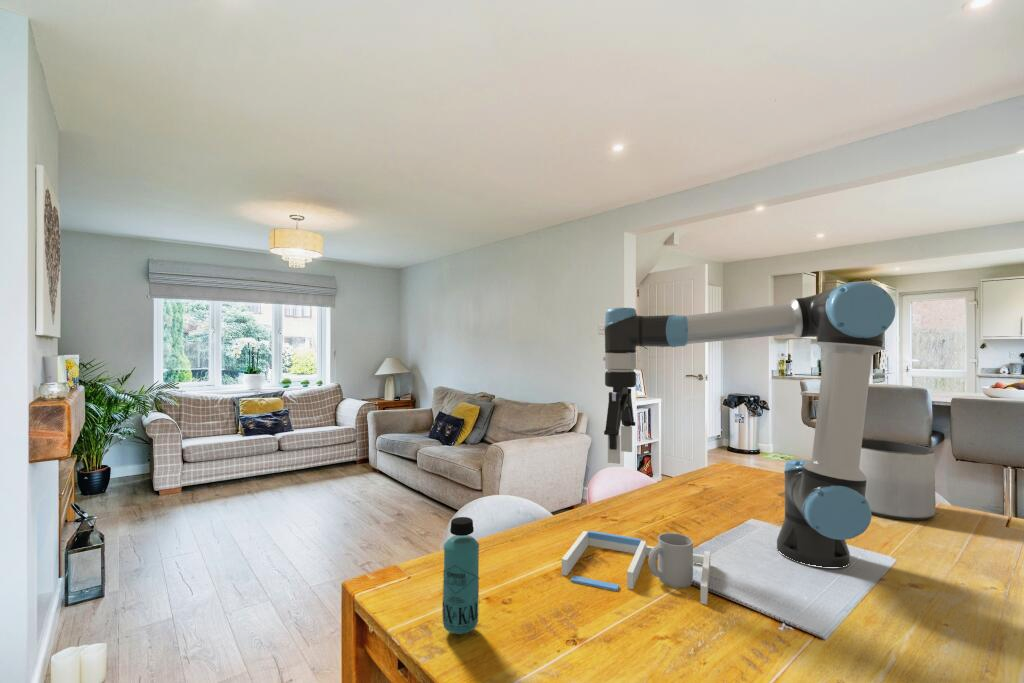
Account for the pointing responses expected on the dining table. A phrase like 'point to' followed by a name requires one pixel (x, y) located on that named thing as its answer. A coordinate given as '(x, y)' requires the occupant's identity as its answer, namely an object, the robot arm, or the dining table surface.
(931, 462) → the planter
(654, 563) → the cup
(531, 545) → the dining table surface
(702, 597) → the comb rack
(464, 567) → the beverage bottle
